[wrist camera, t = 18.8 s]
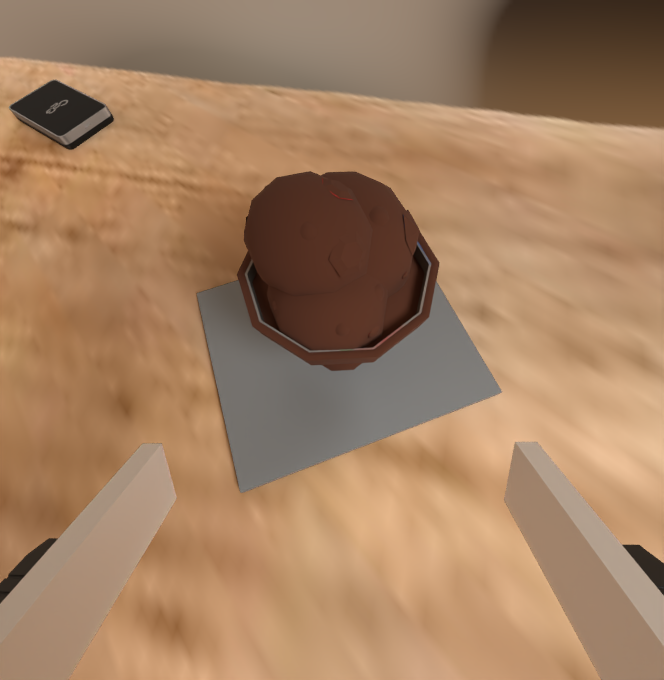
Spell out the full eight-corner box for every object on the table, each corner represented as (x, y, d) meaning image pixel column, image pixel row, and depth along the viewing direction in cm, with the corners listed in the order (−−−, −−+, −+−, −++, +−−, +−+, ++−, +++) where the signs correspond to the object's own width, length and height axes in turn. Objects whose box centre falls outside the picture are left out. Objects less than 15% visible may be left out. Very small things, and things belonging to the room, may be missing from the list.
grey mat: (403, 231, 32) (404, 227, 31) (498, 393, 25) (502, 391, 24) (199, 296, 30) (196, 293, 29) (242, 492, 23) (240, 492, 22)
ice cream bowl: (365, 434, 24) (388, 360, 10) (246, 355, 27) (139, 214, 13) (433, 323, 27) (520, 154, 13) (321, 264, 30) (299, 75, 16)
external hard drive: (66, 95, 44) (54, 78, 43) (119, 122, 41) (109, 106, 40) (21, 123, 42) (6, 107, 40) (74, 155, 39) (60, 138, 37)
